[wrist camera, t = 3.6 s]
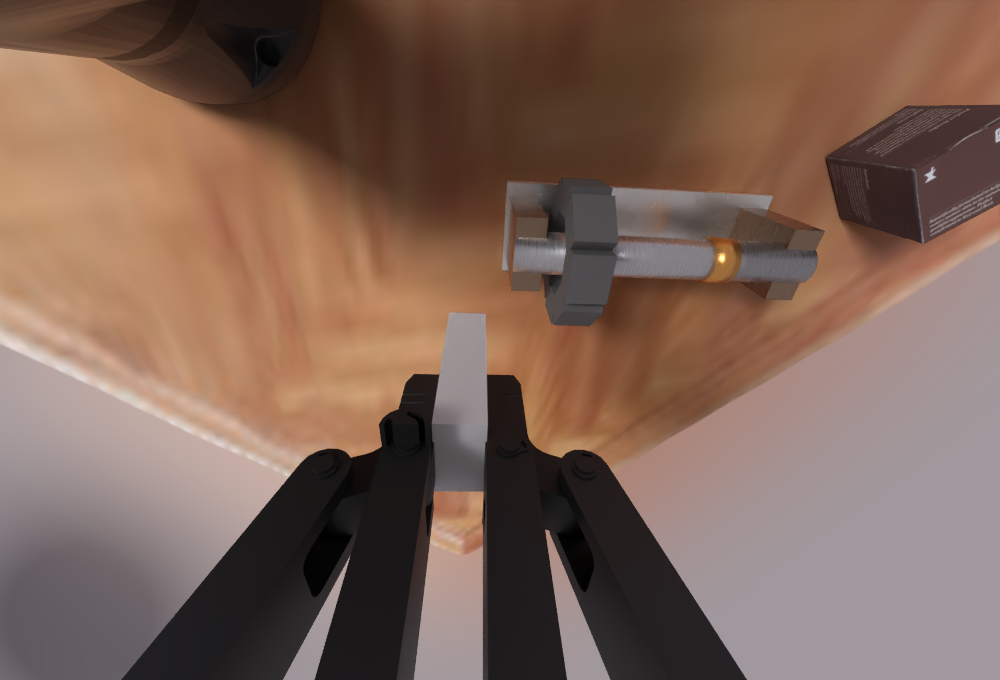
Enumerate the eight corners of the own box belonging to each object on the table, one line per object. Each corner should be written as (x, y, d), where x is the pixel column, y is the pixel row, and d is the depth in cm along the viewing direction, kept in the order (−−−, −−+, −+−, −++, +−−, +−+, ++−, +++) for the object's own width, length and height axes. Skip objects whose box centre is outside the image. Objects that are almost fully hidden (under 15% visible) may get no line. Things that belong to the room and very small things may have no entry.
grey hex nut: (540, 288, 33) (558, 347, 25) (554, 170, 28) (582, 196, 20) (569, 289, 33) (597, 348, 25) (588, 172, 28) (629, 199, 20)
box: (836, 219, 33) (920, 247, 26) (822, 155, 30) (912, 169, 24) (916, 174, 31) (1027, 192, 25) (909, 102, 28) (1030, 101, 22)
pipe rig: (501, 266, 34) (506, 308, 27) (506, 180, 30) (514, 203, 23) (734, 275, 35) (797, 317, 28) (767, 193, 31) (847, 219, 24)
